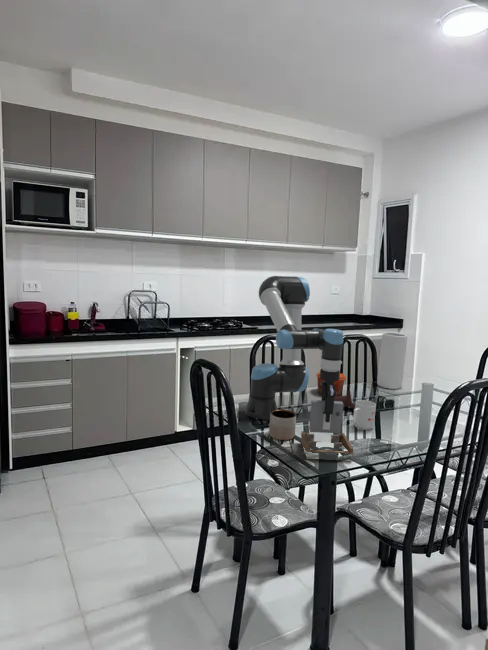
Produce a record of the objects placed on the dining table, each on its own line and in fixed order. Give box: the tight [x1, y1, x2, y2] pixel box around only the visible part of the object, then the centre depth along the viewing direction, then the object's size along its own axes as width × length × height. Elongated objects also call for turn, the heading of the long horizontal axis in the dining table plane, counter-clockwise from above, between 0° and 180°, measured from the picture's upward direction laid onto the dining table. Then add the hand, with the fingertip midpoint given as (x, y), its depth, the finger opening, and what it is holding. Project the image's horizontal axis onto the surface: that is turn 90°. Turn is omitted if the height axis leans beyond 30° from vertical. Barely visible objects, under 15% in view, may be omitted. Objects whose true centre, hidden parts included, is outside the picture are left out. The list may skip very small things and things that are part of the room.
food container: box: [316, 371, 347, 396], centre depth 252 cm, size 16×16×11 cm
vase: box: [376, 331, 408, 390], centre depth 271 cm, size 14×14×32 cm
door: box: [308, 399, 344, 434], centre depth 179 cm, size 12×4×12 cm, turn 91°
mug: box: [352, 399, 377, 431], centre depth 203 cm, size 12×9×11 cm
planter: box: [268, 408, 297, 441], centre depth 190 cm, size 11×11×10 cm
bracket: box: [334, 389, 367, 411], centre depth 228 cm, size 6×17×10 cm, turn 80°
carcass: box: [300, 430, 354, 455], centre depth 177 cm, size 17×15×5 cm
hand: (325, 427), depth 180 cm, fingers closed on door, 3 cm apart
